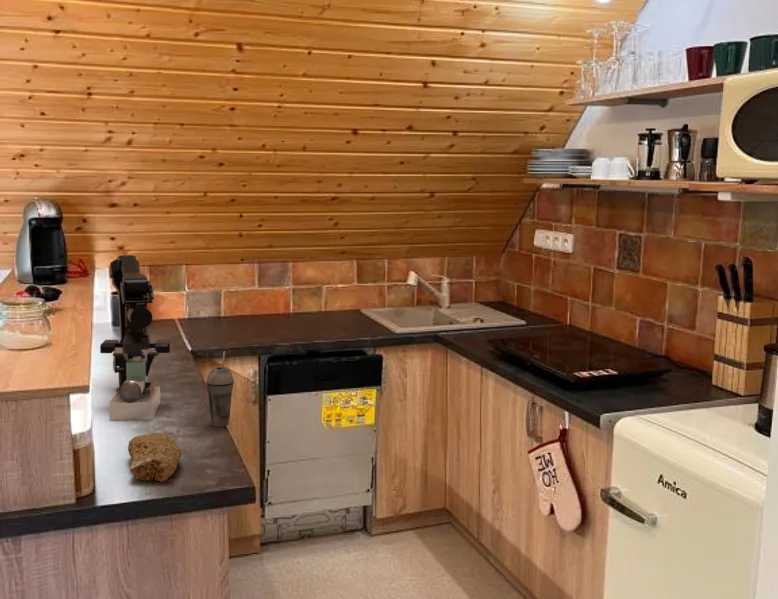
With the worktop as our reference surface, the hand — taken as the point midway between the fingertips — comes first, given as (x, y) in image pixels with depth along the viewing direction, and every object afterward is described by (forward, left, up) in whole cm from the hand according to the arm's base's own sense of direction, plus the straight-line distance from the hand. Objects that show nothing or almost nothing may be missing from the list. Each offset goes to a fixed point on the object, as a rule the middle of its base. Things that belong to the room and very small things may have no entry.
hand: (137, 376), depth 216 cm
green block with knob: (0, 0, -2) cm, 2 cm away
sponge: (+47, +11, -10) cm, 50 cm away
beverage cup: (+17, +24, -10) cm, 31 cm away
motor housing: (+4, 0, -9) cm, 10 cm away
